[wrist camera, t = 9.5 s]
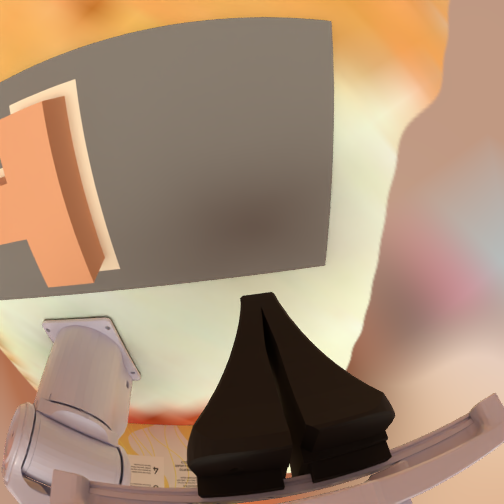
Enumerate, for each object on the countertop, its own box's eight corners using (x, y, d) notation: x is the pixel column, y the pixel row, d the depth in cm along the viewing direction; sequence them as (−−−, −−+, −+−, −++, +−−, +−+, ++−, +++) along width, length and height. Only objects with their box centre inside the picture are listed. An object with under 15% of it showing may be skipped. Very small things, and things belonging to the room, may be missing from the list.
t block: (104, 257, 20) (93, 282, 18) (-3, 272, 19) (-17, 293, 17) (64, 95, 14) (41, 101, 11) (-47, 147, 13) (-70, 160, 10)
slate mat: (323, 262, 24) (325, 265, 24) (-1, 297, 21) (-3, 300, 21) (328, 22, 14) (331, 21, 14) (-63, 124, 11) (-66, 126, 11)
